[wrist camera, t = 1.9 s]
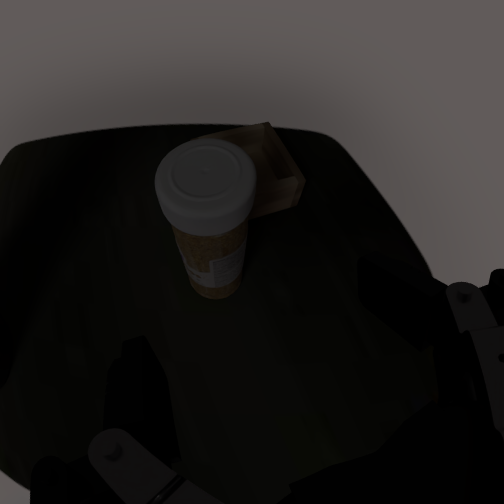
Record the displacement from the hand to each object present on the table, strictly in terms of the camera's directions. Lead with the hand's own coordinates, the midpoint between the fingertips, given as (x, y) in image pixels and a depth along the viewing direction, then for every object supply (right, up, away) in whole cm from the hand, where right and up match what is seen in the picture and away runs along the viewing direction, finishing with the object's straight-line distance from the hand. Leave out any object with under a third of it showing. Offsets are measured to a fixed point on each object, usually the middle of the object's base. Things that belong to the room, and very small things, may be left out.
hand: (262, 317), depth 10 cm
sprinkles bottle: (-3, 0, +15) cm, 15 cm away
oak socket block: (-1, +9, +18) cm, 20 cm away
